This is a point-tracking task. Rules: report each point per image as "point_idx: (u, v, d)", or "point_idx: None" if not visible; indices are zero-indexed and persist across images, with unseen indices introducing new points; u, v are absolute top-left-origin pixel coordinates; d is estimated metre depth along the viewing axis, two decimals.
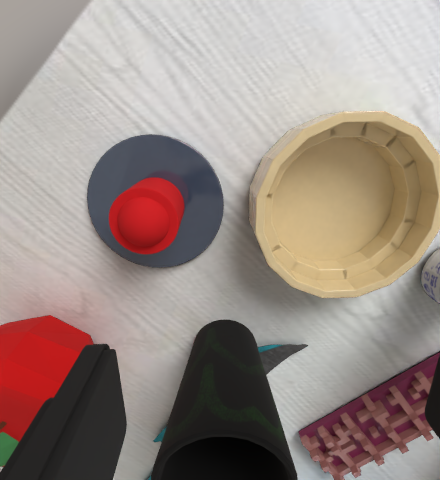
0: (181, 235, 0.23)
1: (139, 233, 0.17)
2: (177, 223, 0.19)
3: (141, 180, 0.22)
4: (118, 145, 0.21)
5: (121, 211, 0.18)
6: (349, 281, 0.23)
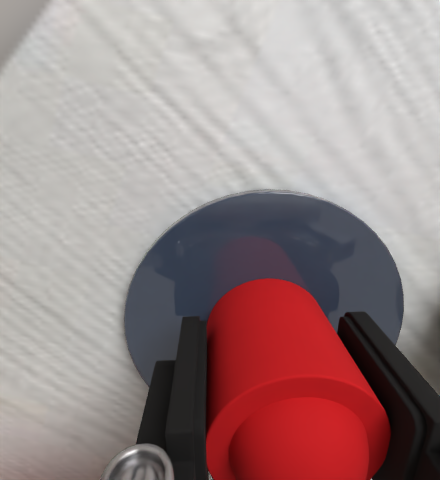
0: None
1: None
2: (386, 450, 0.07)
3: (244, 288, 0.10)
4: (198, 215, 0.09)
5: (252, 445, 0.06)
6: None
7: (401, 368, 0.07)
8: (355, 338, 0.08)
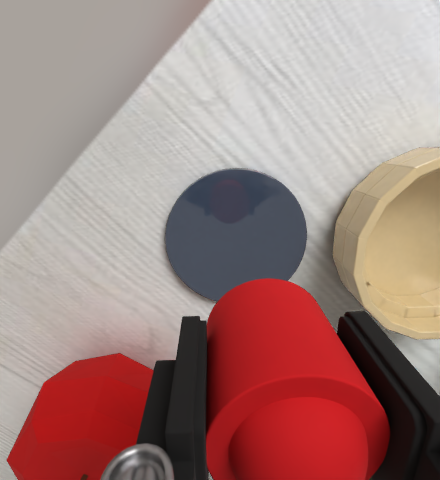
0: (260, 270, 0.22)
1: None
2: (385, 450, 0.07)
3: (244, 287, 0.10)
4: (202, 179, 0.20)
5: (251, 445, 0.06)
6: None
7: (401, 368, 0.07)
8: (355, 338, 0.08)
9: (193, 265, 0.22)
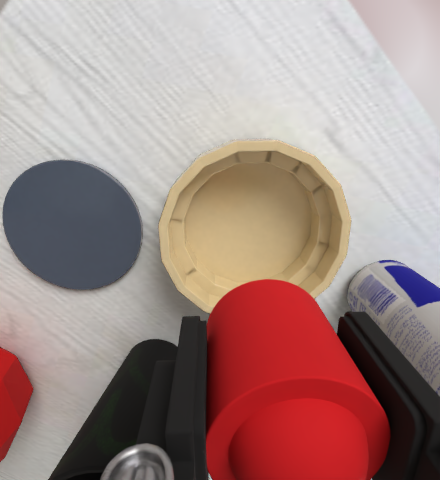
0: (101, 258, 0.23)
1: None
2: (386, 451, 0.07)
3: (244, 288, 0.10)
4: (29, 171, 0.21)
5: (252, 447, 0.06)
6: None
7: (401, 368, 0.07)
8: (355, 338, 0.08)
9: (36, 253, 0.23)
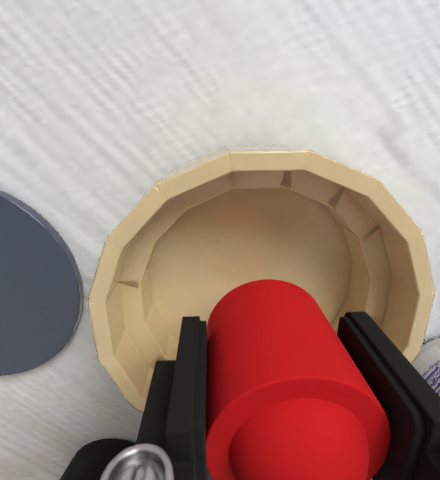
0: (18, 331, 0.15)
1: None
2: (386, 451, 0.07)
3: (244, 288, 0.10)
4: None
5: (252, 446, 0.06)
6: None
7: (401, 368, 0.07)
8: (355, 338, 0.08)
9: None
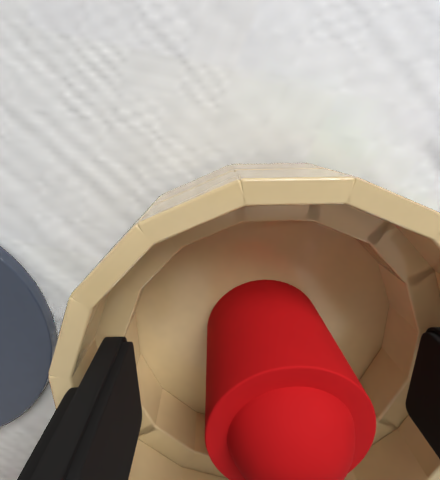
0: None
1: None
2: (372, 437, 0.08)
3: (243, 288, 0.11)
4: None
5: (248, 430, 0.07)
6: None
7: None
8: None
9: None
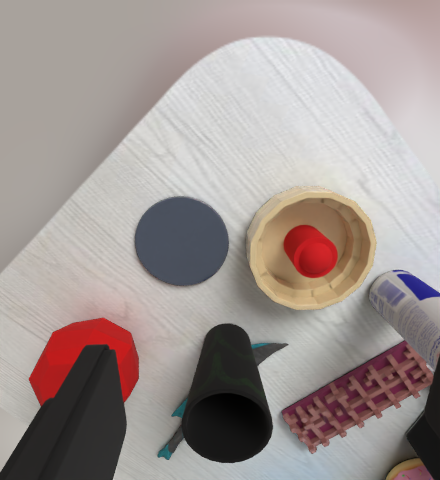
0: (198, 263, 0.34)
1: (319, 266, 0.28)
2: (336, 259, 0.29)
3: (297, 226, 0.32)
4: (158, 203, 0.31)
5: (306, 251, 0.28)
6: (315, 298, 0.33)
7: None
8: None
9: (154, 259, 0.33)
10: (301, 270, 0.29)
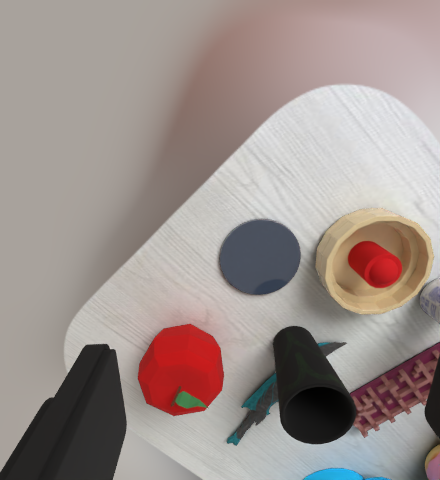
0: (273, 275, 0.39)
1: (388, 278, 0.33)
2: (401, 271, 0.34)
3: (361, 242, 0.37)
4: (242, 225, 0.36)
5: (376, 266, 0.33)
6: (376, 304, 0.38)
7: None
8: None
9: (235, 272, 0.38)
10: (370, 282, 0.34)
